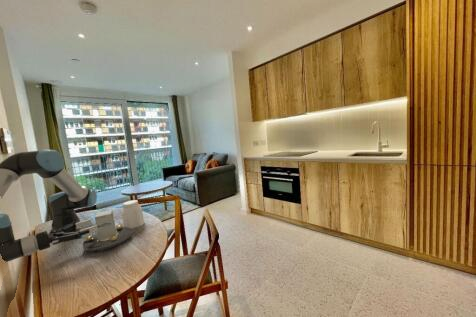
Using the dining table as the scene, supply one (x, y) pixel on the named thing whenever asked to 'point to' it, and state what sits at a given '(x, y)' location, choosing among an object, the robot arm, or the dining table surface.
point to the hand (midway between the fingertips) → (94, 224)
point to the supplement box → (105, 224)
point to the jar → (132, 214)
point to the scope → (68, 221)
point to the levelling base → (107, 240)
